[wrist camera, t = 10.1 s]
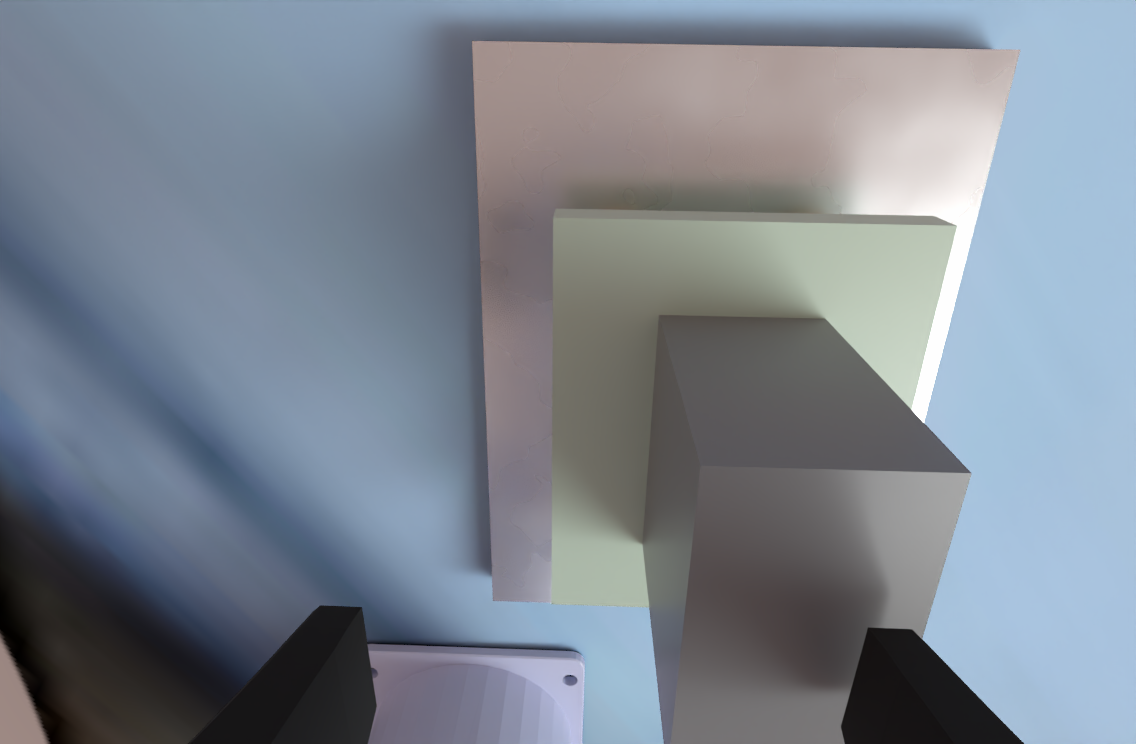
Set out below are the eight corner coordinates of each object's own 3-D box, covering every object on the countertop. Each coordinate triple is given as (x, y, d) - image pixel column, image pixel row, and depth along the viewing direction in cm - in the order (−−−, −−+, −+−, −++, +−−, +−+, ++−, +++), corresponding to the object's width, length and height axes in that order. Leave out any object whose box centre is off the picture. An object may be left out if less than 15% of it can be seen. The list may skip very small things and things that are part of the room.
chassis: (862, 591, 22) (900, 665, 19) (496, 579, 22) (484, 649, 20) (995, 51, 16) (1080, 47, 13) (478, 42, 16) (455, 37, 13)
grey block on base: (847, 587, 18) (984, 862, 12) (553, 577, 19) (534, 844, 12) (933, 215, 14) (1209, 332, 8) (555, 208, 15) (527, 317, 8)
